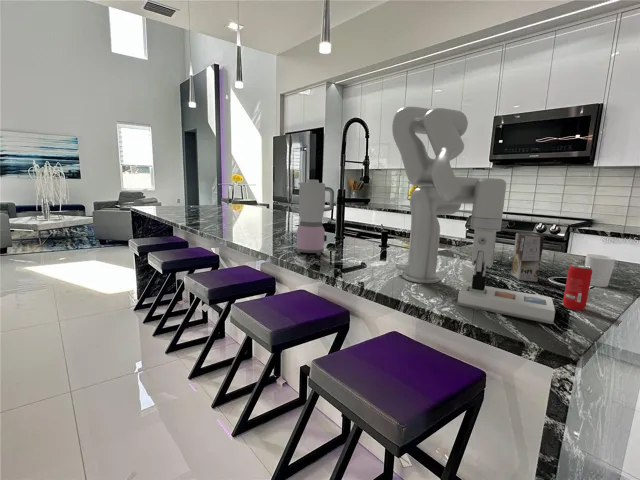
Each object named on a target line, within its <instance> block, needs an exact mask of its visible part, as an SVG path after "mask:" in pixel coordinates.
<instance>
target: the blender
mask: <svg viewBox="0 0 640 480" xmlns="http://www.w3.org/2000/svg"><path fill="white" fill-rule="evenodd" d="M297 184H298V185H299V189H298V213H299V224H298V227H297V229H296V247H295V250H296V254H298V255H301V254H302V253H306V254H316V256H321V254H322V253H323V252H324V250H325V247H324V246H325V242H327V241H328V240H327V239H328V238H327V236H328V235H326V234H325V228H324V226H323V218H324V212H331V211H332V210H333V209H334V202H335V190H334V189H333V188H332V187H328V186H326V184H325V183H324V182H320V181H319V179H308V178H307V179H306V182H297ZM326 192H329V206H325V205H326Z"/></svg>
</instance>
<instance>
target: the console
mask: <svg viewBox="0 0 640 480" xmlns="http://www.w3.org/2000/svg"><path fill="white" fill-rule="evenodd" d="M470 287H472V283H469V282H464V283H463V285H462V286H461V288H460V289H459V291H458V295H457V296H458V297H457V304H456V305H457V306H463V307H466V308H472V309H476V310H481V311H486V312H491V313H495V314H501V315H506V316H510V317H515V318H520V319H524V320H530V321H534V322H535V321H536V322H540V323H545V324H548V325H549V324H550V325H553V324H554V323H555V322H554V321H555V320H554V319H555V314H556V307H555V306H554V302H553V299H552V297H550V296H544V295H540V294H539V295H538V294H533V293H528V292H522V291H516V290H509V289H504V288H498V287H493V286H487V285H485V294H481V293H476V292H471V291H469V288H470ZM497 292H507V293H510V294H513V299H509V298H503V297H498V296H497ZM527 297H535V298H539V299H542V300H544V305H542V304H536V303H531V302H526V298H527Z"/></svg>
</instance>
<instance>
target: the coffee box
mask: <svg viewBox="0 0 640 480" xmlns="http://www.w3.org/2000/svg"><path fill="white" fill-rule="evenodd" d="M515 233H516V234H515V237H514V238H515V239H514V247H513V253H512V263H511V269H510V275H511V276H513V277H514V278H516V279H518V281H527V282H535V283H536V282H538V279H539V273H540V268H541V262H542V254H543V249H544V243H545V242H544V241H545V236H542V235H539V234H536V233H531V232H530V233H529V232H515Z"/></svg>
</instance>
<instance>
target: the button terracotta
mask: <svg viewBox="0 0 640 480" xmlns="http://www.w3.org/2000/svg"><path fill="white" fill-rule="evenodd" d="M497 296H498V297H503V298H509V299H513V294H510V293H507V292H497Z"/></svg>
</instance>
